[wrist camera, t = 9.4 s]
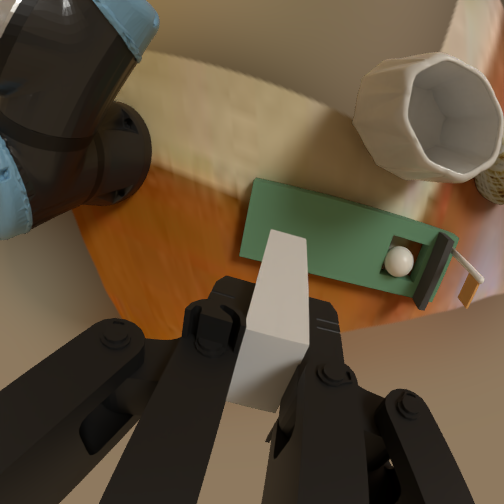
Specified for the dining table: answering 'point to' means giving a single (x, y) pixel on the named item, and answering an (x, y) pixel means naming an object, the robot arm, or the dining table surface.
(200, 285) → the dining table surface
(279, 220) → the green
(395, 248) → the ball
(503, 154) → the seashell
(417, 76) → the vase
